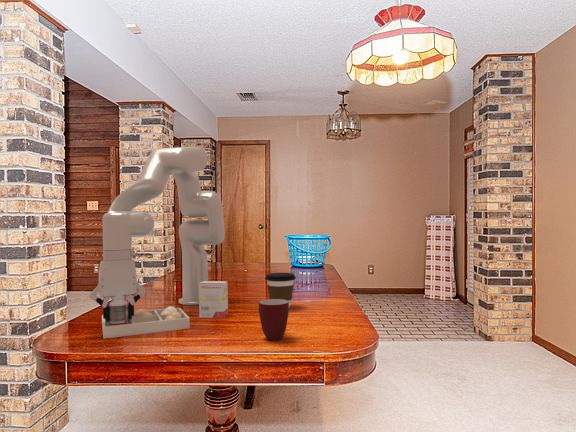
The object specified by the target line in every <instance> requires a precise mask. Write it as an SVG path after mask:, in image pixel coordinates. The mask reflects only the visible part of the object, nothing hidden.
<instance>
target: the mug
mask: <svg viewBox="0 0 576 432" xmlns="http://www.w3.org/2000/svg"><path fill="white" fill-rule="evenodd" d="M289 311H290V307H289V302H288V301H287V300H283V299H268V298H267V299H263V300H262V299H261V300H260V301H258V313H259V321H260V326H261V331H262V333H263V335H264V337H265V339H266V340H268V341H272V342H277V341H280V340H281V339H283V337H284V334H285V332H286V330H287V325H288V318H289Z"/></svg>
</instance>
